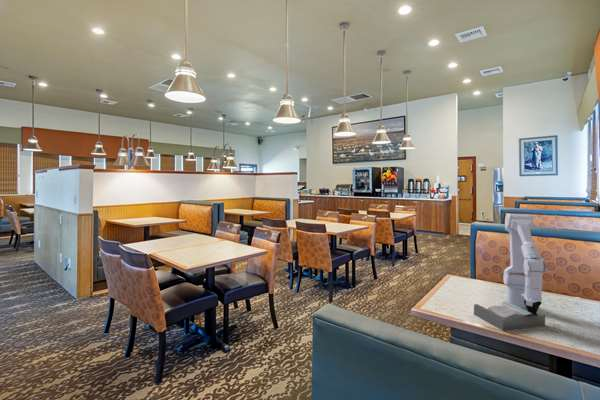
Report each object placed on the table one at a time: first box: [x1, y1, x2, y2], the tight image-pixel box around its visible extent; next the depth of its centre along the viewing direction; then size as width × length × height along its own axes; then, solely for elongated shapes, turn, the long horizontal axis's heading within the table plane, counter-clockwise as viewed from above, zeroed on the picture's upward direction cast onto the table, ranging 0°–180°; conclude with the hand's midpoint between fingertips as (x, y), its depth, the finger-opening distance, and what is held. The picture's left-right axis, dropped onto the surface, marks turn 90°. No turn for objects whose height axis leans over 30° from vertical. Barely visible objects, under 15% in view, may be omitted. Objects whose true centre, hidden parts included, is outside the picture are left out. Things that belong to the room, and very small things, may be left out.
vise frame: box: [473, 303, 546, 331], centre depth 132 cm, size 20×16×4 cm
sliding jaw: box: [501, 301, 533, 315], centre depth 135 cm, size 2×13×4 cm, turn 11°
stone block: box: [487, 305, 522, 317], centre depth 135 cm, size 12×5×10 cm
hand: (531, 317), depth 131 cm, fingers closed
